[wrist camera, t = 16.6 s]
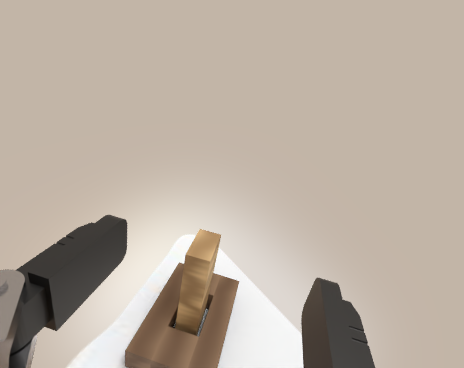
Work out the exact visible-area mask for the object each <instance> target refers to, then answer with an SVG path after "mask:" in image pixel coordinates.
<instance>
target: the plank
mask: <svg viewBox="0 0 464 368" xmlns="http://www.w3.org/2000/svg"><path fill="white" fill-rule="evenodd" d="M220 238H221V235H220V234H216V233H212V232H209V231H205V230H202V229H200V230H199V232H198V233H197V235H196V237H195V239H194V241H193V242H192V244H191V246H190V248H189V250H188V251H187V253H186V256H185V263H184V270H183V277H182V284H181V291H180V298H179V305H178V312H177V319H176V326H175V329H178V330H181V331H184V332H187V333H189V334H192V335H195V336H197V334H198V331H199V328H200V325H201V322H202V319H203V316H204V313H205V309H206V305H207V300H208V295H209V290H210V285H211V281H212V276H213V271H214V266H215V262H216V257H217V252H218V247H219V242H220Z"/></svg>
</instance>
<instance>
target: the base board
mask: <svg viewBox="0 0 464 368" xmlns="http://www.w3.org/2000/svg"><path fill="white" fill-rule="evenodd" d="M183 270H184V264H182V263H179V264H178V265H177V267H176V269H175V270H174V272H173V274H172V275H171V277H170V278H169V280H168V282H167V283H166V285H165V287H164V288H163V290H162V292H161V293H160V295H159V296H158V298H157V300H156V301H155V303H154V305H153V306H152V308H151V310H150V311H149V313H148V314H147V316H146V318H145V319H144V321H143V323H142V324H141V326H140V328H139V329H138V331H137V332H136V334H135V336H134V337H133V339H132V341H131V342H130V344H129V346H128V347H127V349H126V350H125V366H127V367H130V368H217V367H218V363H219V359H220V355H221V351H222V347H223V343H224V339H225V335H226V331H227V327H228V323H229V319H230V315H231V311H232V308H233V304H234V300H235V296H236V292H237V288H238V284H239V281H237V280H234V279H230V278H227V277H224V276H221V275H217V274H214V273H213V276H212V281H211V285H210V290H209V295H208V300H207V305H206V307H207V308H209V310H208V313H207V316H206V319H205V321H204V324H203V327H202V330H201V333H200V335H199V337H198V336H195V335H192V334H189V333H187V332H184V331H181V330H178V329H175V328H172V327H173V325H174V323H175V321H176V319H177V312H178V305H179V298H180V291H181V284H182V277H183Z"/></svg>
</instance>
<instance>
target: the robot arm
mask: <svg viewBox="0 0 464 368" xmlns="http://www.w3.org/2000/svg"><path fill="white" fill-rule="evenodd" d="M126 250H127V222H126V220H125V219H121V218H118V217H115V216H112V215H106V216H104V217H103V218H101V219H100V220H99V221H97V222H96V223H89V224H87V225H84V226H81V227H78V228H77V229H76V230H74V231H72V232H71V233H69V234H68V235H66V237H64V238H62V239H61V240H59V241H58V242H57V243H56V244H53V245H52V246H51V247H49V248H48V249H46V250H45V251H43V252H42V253H40V254H39V255H37V256H36V257H35V258H33V259H31V260H30V261H29V262H27V263H26V264H24V265H23V266H21V267H20V268H18V269H17V270H0V368H31V363H32V358H33V354H34V349H35V344H36V340H37V336H36V334H37V333H38V332H39V331H40V330H41V329H42V328H43V327H47V328H50V329H52V330H55V331H57V330H58V329H59V328H60V327H61V326H62V325H63V324H64V323H65V322H66V321H67V319H68V318H69V317H70V316H71V315H72V314H73V313H74V312H75V311H76V310H77V309H78V308H79V306H81V305H82V303H83V302H84V301H85V300H86V299H87V298H88V297H89V296H90V295H91V294H92V293H93V292H94V291H95V290H96V288H97V287H98V286H99V285H100V284H101V283H102V282H103V281H104V280H105V279H106V278H107V277H108V276H109V275H110V274H111V272H112V271H113V270H114V269H115V268H116V267H117V266H118V265H119V264H120V263H121V262H122V260H123V258H124V256H125V254H126ZM302 343H303V364H304V368H375V366H374V362H373V359H372V355H371V353H370V349H369V346H368V345H367V343H368V342H367V339H366V335H365V333H364V329H363V325H362V322H361V319H360V316H359V314H358V313H357V311H356V310H355V308H354V307H353V305H352V304H351V303H350V302H348V301H345V300H342V296H341V292H340V287H339V285H338V284H337V283H334V282H331V281H328V280H324V279H321V278H316V280H315V281H314V284H313V286H312V288H311V291H310V293H309V295H308V298H307V300H306V302H305V304H304V307H303V312H302Z"/></svg>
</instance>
